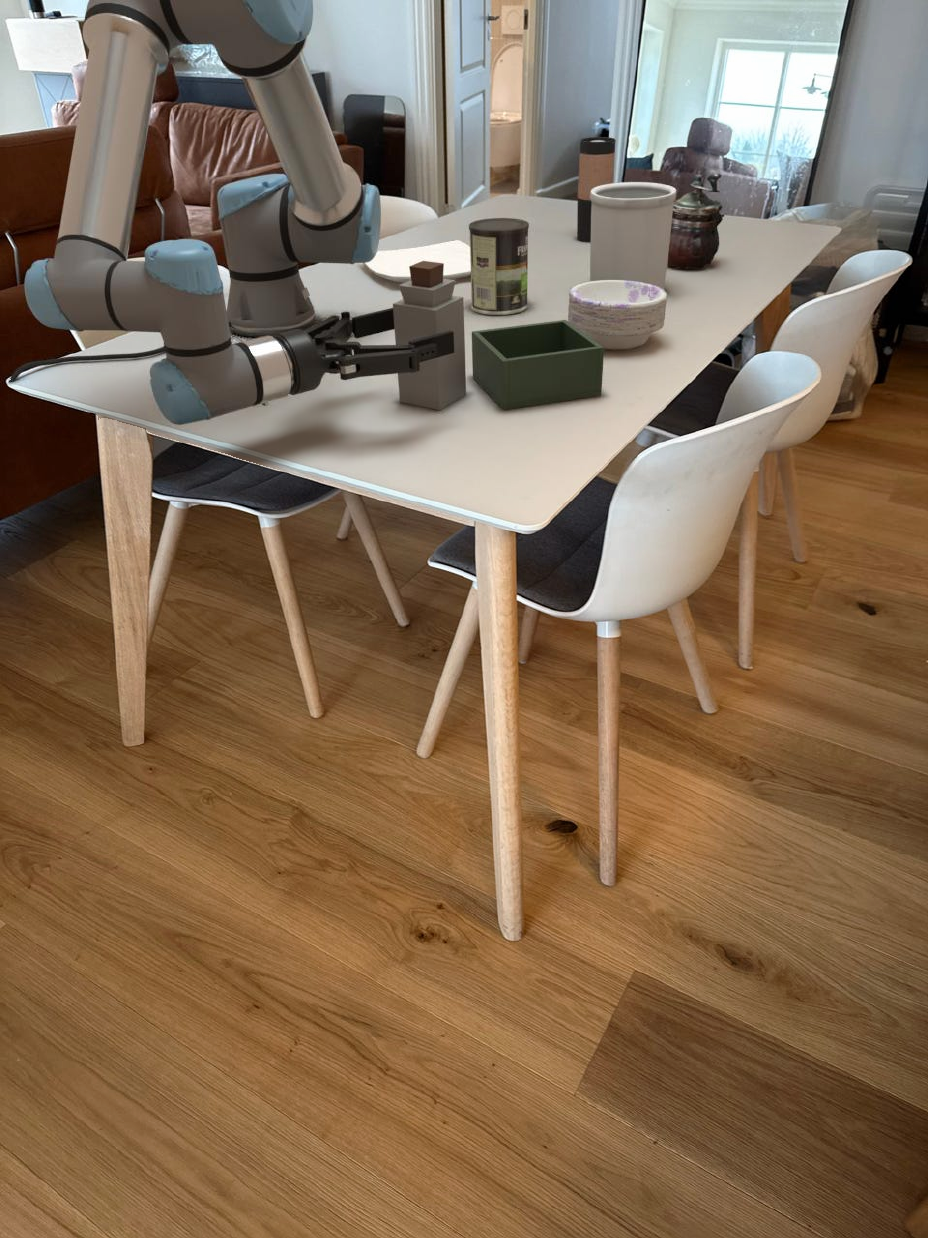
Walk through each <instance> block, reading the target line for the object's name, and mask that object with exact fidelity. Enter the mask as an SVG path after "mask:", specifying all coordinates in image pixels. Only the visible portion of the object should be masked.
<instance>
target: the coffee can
mask: <svg viewBox="0 0 928 1238" xmlns="http://www.w3.org/2000/svg"><path fill="white" fill-rule="evenodd" d="M529 228H530V223H529V222H528V221H527V220H524V219H521V218H513V217H493V218H484V219H479V220H474V221H472V222H470V223H468V230H469V246H470V263H471V275H470V292H471V294H470V295H471V296H470V297H471V298H470V299H471V305H470V308H471V310H472V311H473V312H475V313H478V314H481V315H486V316H507V315H509V316H510V315H514V314H519V313H522V312H524V311H526V310H527V309H528V305H529V304H528V274H529V273H528V271H529V270H528V269H529V268H528V267H529V266H528V263H529V261H528V259H529V257H528V256H529V248H528V247H529Z"/></svg>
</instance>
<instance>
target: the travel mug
mask: <svg viewBox="0 0 928 1238" xmlns="http://www.w3.org/2000/svg"><path fill="white" fill-rule="evenodd" d="M616 141H617V140H616V139H615V138H614V137H607V136H593V137H583V138H581V139H580V141H579V160H578V180H577V181H578V182H577V211H576V212H577V213H576V214H577V217H576V218H577V223H576V224H577V227H576V234H577V235H576V237H577V238H576V239H577V240H578V241H580V242H584V243H591V207H592V202H591V199H590V192H591V190H592V189H593V188H595V187H597V186H601V185H606V184H612V183H614V180H615V179H614V178H615V176H614V175H615V160H616V159H615V158H616Z"/></svg>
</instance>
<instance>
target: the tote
mask: <svg viewBox="0 0 928 1238" xmlns="http://www.w3.org/2000/svg"><path fill="white" fill-rule="evenodd" d="M604 357H605V349H604V347H603V346H601V345H600V344H599V343H597V342H596V341H594V340H593V339H592V338H590V337H589V336H587V335H586V334H585V333H583V332H582V331H581V330H579V329H578V328H576V327H575V326H574V325H572V324H571V323H570V322H569V321H568V319H561V320H560V319H559V320H551V321H544V322H537V323H528V324H521V325H514V326H505V327H497V328H488V329H481V330H474V331H471V359H472V362H471V363H472V364H471V365H472V366H471V367H472V378H473V379H474V380H475V381H476V382H477V383H478V385H479V386H480V387H481V388H482V389H483V390H484V391H485V392H486V394H488V395H489V397H490V398H491V399H492V400H493V401H494V402H495V403H496V404H497V405H498V407H500V409H501V410H502V411H505V410H506V411H507V410H513V409H519V408H526V407H532V406H540V405H545V404H553V403H558V402H565V401H566V402H567V401H573V400H579V399H587V398H594V397H598V396H599V397H600V396H602V390H603V373H604Z"/></svg>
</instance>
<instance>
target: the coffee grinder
mask: <svg viewBox="0 0 928 1238" xmlns="http://www.w3.org/2000/svg"><path fill="white" fill-rule="evenodd" d="M720 178H722V174H720V173H711V174H710V175H708V176H707V178H706V180H707V181H708V182H709V184H710V186H711V188H708V187H704V186H703V182H702V181H703V176H702V174H695V175H694V181H693V182H692V183H690V186H691V187H693V190H692V191H690V192H688V193H686V194H683V196H681V198H678V199H676V198H675V200H674V202H673V213H672V223H671V233H670V242H669V252H668V262H667V267H676V268H679V269H682V270H686V269H700V270H702V269H705V267H706V266H708V265H711V263H712V261H713V260H714V258H715V256H716V254H717V253H718V251H719V249H720V248H719V247H720V234H719V229H718V226H719V225H720V224H721V223H722V221H723V220H724V219H723V218H725V213H722V214H721V213H720V211H721V210H722V209H723V205H722V204H721V203H722V202H720V201H719V200H717V199H712V198H709V197H708V196H707V194H705V193H704V192H703V191H704V190H705V191H707V192H708V193H721V191H720V190H718V181H719V180H720Z"/></svg>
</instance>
